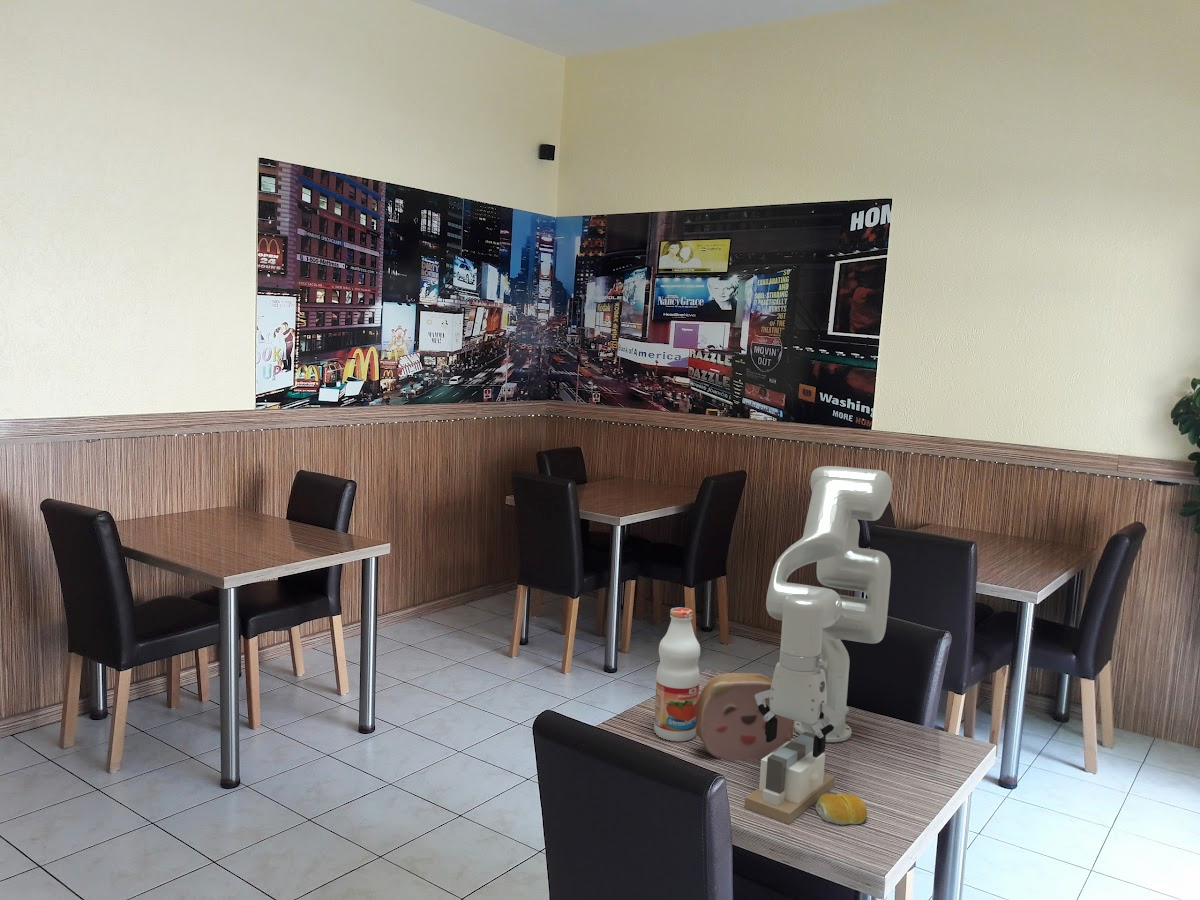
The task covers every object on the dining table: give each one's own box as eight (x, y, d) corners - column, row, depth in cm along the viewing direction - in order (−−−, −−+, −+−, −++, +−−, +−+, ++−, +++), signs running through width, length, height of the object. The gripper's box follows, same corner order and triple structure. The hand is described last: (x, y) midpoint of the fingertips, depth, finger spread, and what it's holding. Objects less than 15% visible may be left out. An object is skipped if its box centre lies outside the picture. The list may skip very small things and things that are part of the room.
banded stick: (803, 760, 184) (805, 731, 184) (817, 765, 183) (819, 735, 182) (765, 788, 172) (767, 757, 171) (780, 793, 170) (782, 762, 169)
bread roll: (874, 825, 168) (875, 804, 168) (827, 828, 167) (829, 807, 166) (854, 803, 177) (855, 783, 176) (809, 805, 175) (811, 785, 174)
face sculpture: (698, 761, 191) (702, 683, 190) (691, 747, 198) (695, 671, 196) (792, 760, 194) (797, 683, 192) (782, 746, 200) (787, 671, 199)
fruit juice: (677, 722, 211) (684, 602, 208) (705, 737, 204) (712, 612, 201) (645, 730, 206) (651, 607, 203) (671, 746, 198) (678, 618, 195)
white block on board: (792, 771, 188) (795, 734, 187) (838, 787, 182) (841, 748, 182) (744, 807, 172) (747, 766, 172) (792, 825, 167) (795, 783, 166)
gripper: (851, 666, 173) (845, 754, 174) (767, 645, 183) (762, 729, 185) (835, 676, 167) (828, 768, 168) (749, 654, 177) (744, 740, 179)
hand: (794, 747), depth 177 cm, fingers open, 9 cm apart
